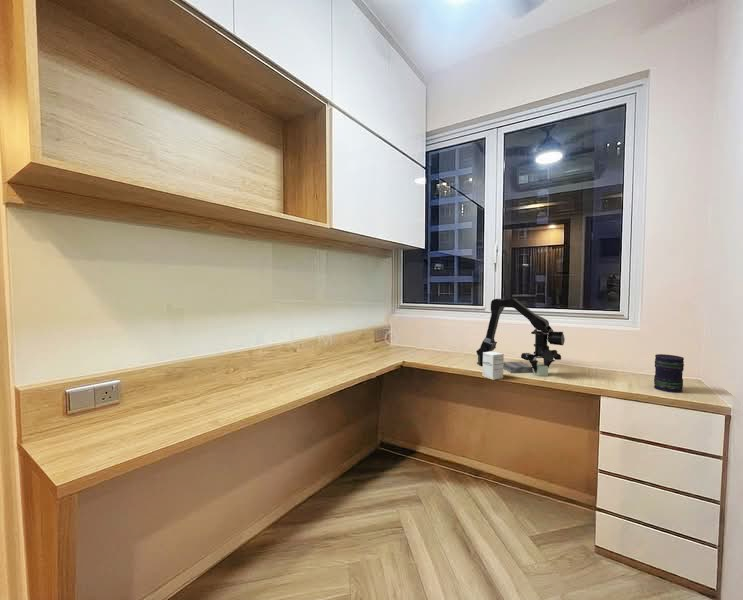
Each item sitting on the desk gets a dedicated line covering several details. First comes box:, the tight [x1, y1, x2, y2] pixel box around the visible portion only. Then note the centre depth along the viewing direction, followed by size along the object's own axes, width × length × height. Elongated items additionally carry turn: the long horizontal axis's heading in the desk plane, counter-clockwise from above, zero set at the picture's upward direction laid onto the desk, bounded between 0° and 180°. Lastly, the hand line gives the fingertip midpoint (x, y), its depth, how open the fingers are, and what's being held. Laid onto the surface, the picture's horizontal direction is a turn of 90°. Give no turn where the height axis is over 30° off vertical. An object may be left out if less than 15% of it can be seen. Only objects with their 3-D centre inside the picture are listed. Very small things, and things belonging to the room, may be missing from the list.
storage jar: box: [653, 353, 685, 394], centre depth 152 cm, size 10×10×15 cm
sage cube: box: [533, 363, 549, 377], centre depth 177 cm, size 5×5×5 cm
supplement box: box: [482, 350, 505, 381], centre depth 172 cm, size 7×7×13 cm
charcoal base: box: [503, 361, 533, 374], centre depth 187 cm, size 12×12×3 cm
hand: (540, 372), depth 177 cm, fingers closed on sage cube, 5 cm apart
